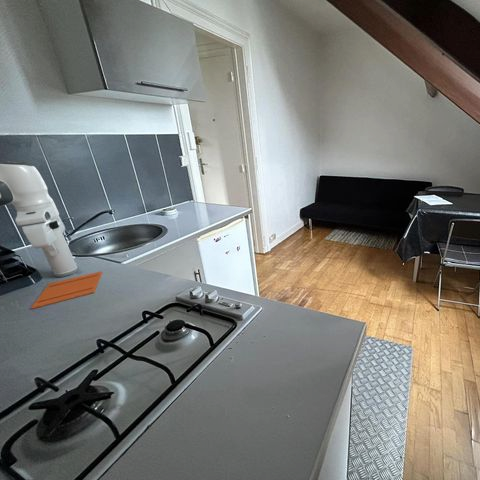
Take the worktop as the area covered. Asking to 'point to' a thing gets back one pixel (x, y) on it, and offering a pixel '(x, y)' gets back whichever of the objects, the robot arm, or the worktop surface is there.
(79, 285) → the drying mat
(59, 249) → the travel mug
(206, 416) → the worktop surface
